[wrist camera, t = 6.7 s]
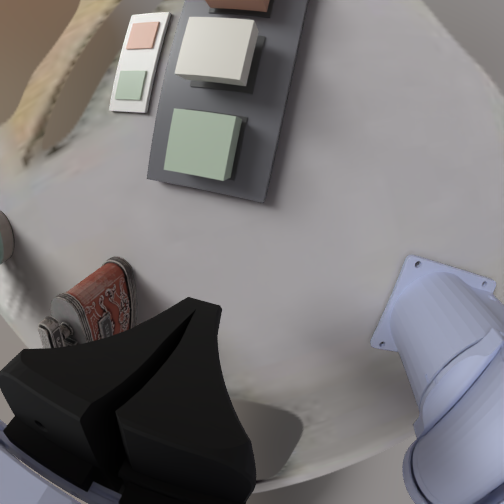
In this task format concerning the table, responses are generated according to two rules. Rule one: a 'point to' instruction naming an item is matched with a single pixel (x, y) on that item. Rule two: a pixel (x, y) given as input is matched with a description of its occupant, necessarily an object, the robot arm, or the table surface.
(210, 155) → the key sage
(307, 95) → the table surface
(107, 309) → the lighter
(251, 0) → the key terracotta
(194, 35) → the key ivory
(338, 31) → the table surface
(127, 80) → the card
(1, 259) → the coffee cup
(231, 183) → the dark grey base plate
